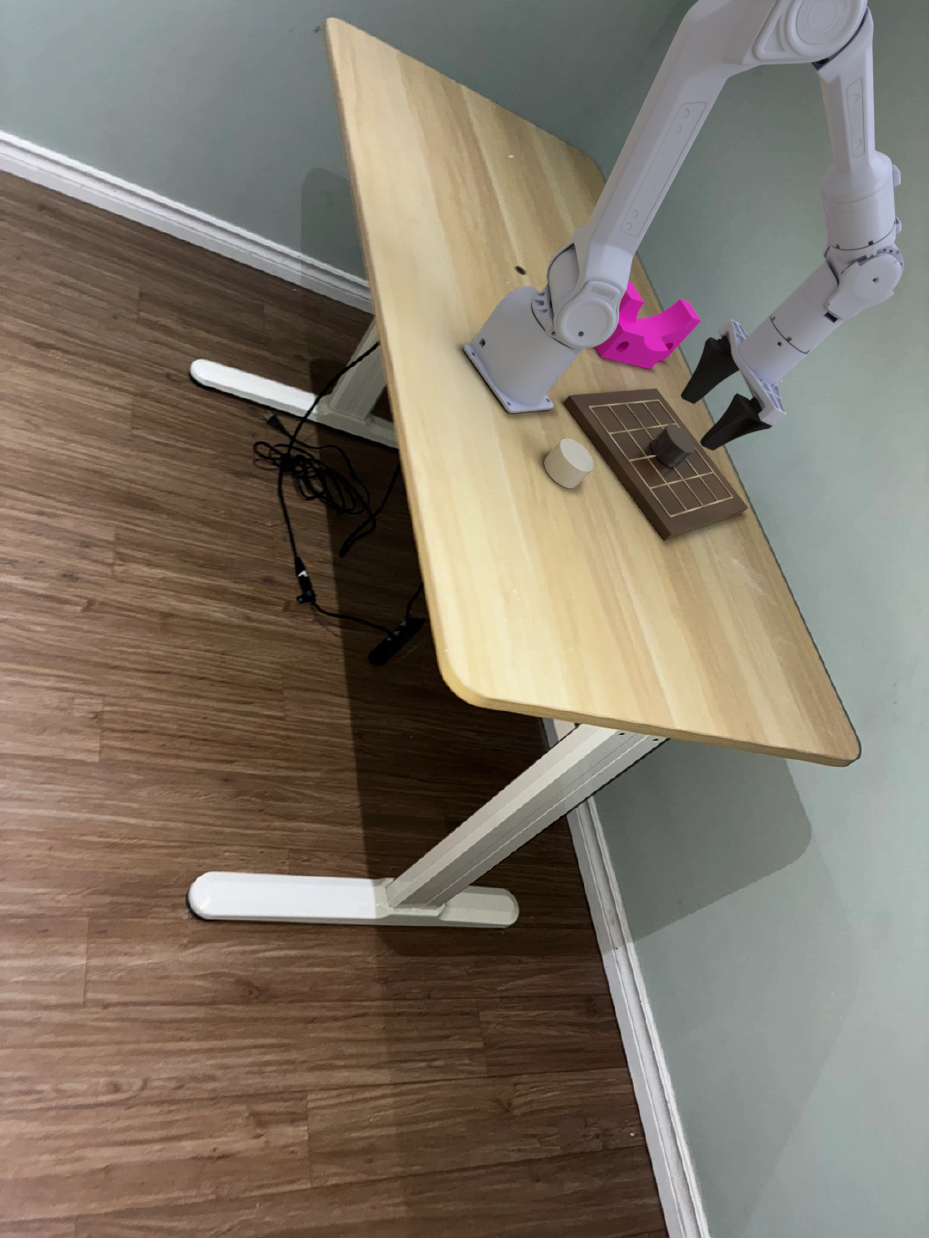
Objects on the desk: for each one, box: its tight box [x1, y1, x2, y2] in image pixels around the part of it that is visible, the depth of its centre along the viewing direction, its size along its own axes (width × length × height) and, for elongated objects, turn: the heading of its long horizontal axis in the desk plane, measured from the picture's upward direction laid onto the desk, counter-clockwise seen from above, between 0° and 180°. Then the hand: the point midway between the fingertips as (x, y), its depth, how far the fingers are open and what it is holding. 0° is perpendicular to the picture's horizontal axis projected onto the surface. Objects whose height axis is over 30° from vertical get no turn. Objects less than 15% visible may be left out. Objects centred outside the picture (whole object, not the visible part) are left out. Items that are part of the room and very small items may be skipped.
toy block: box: [594, 280, 702, 370], centre depth 109 cm, size 15×6×8 cm, turn 115°
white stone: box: [543, 437, 595, 489], centre depth 85 cm, size 4×4×3 cm
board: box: [563, 387, 749, 541], centre depth 98 cm, size 20×20×1 cm
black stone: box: [651, 424, 695, 468], centre depth 97 cm, size 4×4×3 cm
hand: (696, 422), depth 94 cm, fingers open, 7 cm apart
